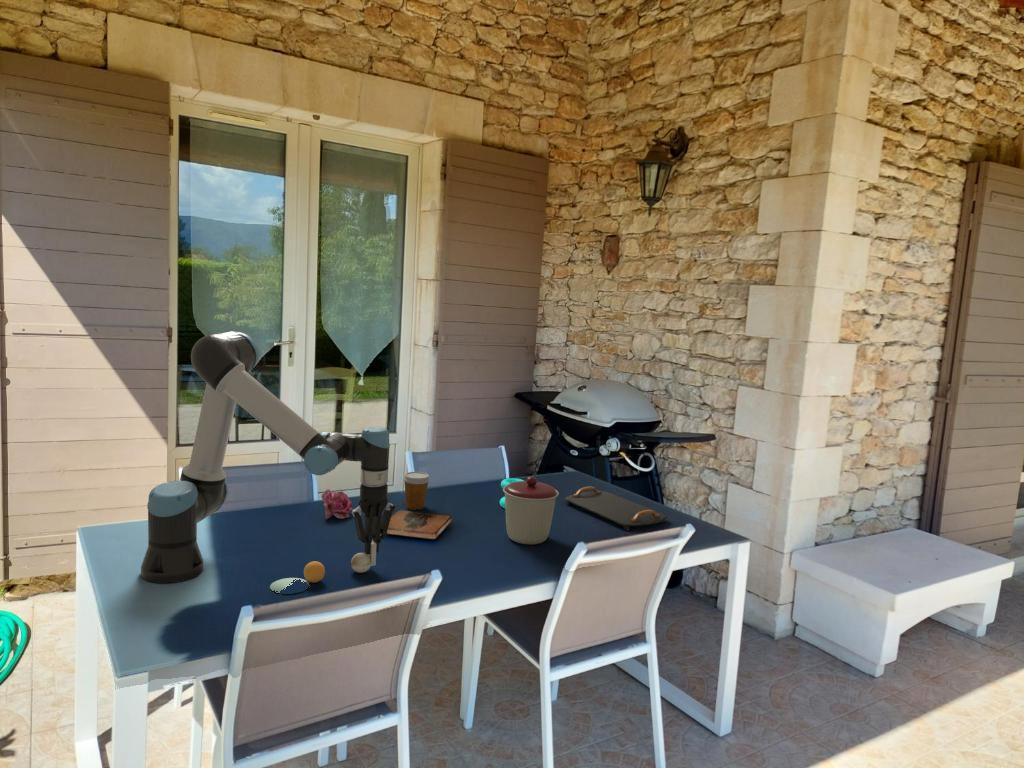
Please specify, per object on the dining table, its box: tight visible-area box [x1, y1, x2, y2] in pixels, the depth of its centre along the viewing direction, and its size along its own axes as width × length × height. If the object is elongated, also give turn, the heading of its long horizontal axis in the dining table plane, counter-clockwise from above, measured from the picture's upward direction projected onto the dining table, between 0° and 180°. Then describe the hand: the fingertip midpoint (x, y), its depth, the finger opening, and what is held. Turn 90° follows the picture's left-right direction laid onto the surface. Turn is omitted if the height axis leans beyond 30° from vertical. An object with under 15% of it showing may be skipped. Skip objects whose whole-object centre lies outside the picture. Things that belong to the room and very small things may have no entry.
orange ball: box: [303, 560, 326, 583], centre depth 190 cm, size 6×6×6 cm
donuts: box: [499, 477, 525, 510], centre depth 265 cm, size 10×10×10 cm
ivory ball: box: [350, 552, 372, 574], centre depth 198 cm, size 6×6×6 cm
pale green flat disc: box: [269, 577, 311, 594], centre depth 187 cm, size 10×10×1 cm
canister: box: [502, 476, 560, 546], centre depth 232 cm, size 18×18×21 cm
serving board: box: [564, 486, 668, 530], centre depth 267 cm, size 39×23×6 cm, turn 36°
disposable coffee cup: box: [402, 471, 431, 511], centre depth 257 cm, size 10×10×12 cm
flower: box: [320, 489, 353, 520], centre depth 243 cm, size 11×10×10 cm
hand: (371, 563), depth 201 cm, fingers closed
